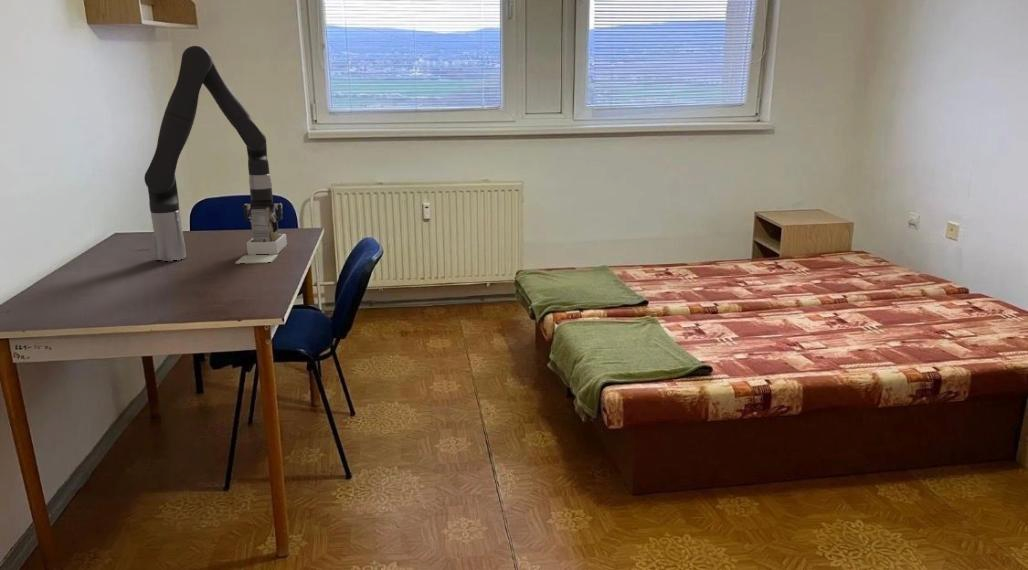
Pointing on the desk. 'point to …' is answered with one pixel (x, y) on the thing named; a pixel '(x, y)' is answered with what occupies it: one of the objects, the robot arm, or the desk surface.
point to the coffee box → (263, 224)
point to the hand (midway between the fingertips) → (265, 231)
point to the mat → (256, 259)
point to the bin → (267, 246)
